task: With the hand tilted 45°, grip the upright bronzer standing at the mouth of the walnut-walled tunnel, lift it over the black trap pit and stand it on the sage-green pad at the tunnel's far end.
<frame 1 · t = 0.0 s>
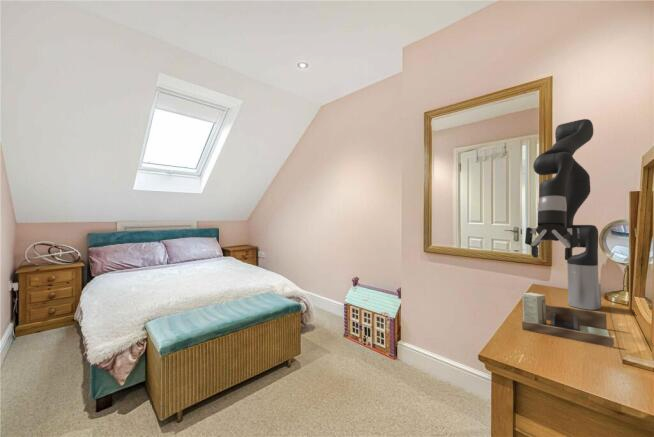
hand: (550, 258, 92), 22 cm above the table, tool pointing down, fingers open, 8 cm apart
skincare box: (534, 324, 94), on the table
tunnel: (564, 329, 89), on the table
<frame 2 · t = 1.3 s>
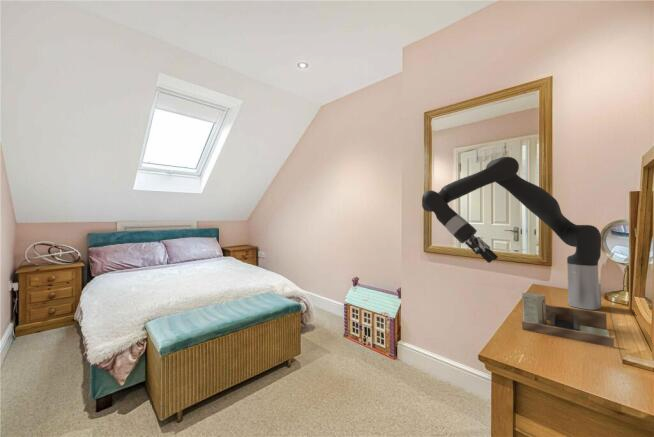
hand: (493, 260, 102), 21 cm above the table, tool tilted 45°, fingers open, 8 cm apart
nothing on the table moved.
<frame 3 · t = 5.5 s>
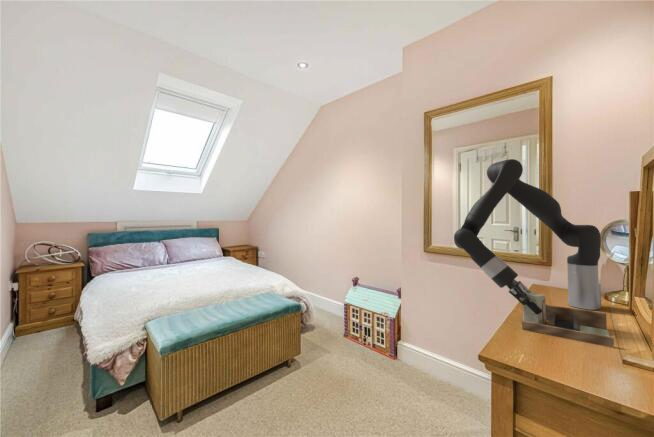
hand: (540, 310, 93), 5 cm above the table, tool tilted 45°, fingers closed on skincare box, 6 cm apart
skincare box: (534, 324, 94), on the table, touching gripper
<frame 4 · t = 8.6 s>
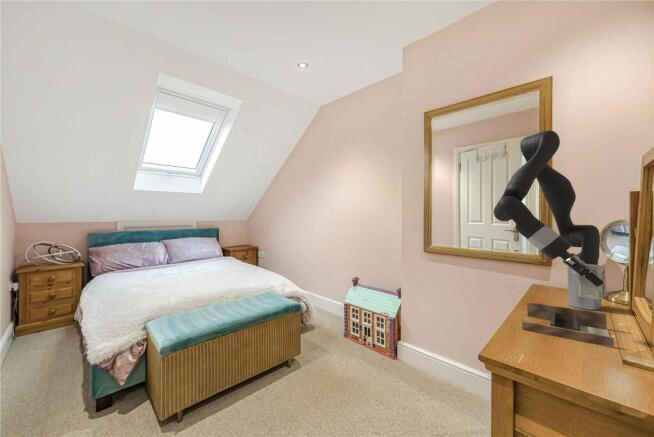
hand: (599, 282, 83), 16 cm above the table, tool tilted 45°, fingers closed on skincare box, 6 cm apart
skincare box: (592, 298, 84), point 11 cm above the table, touching gripper
when the fingers open (6 cm above the table, at t = 11.5 s): skincare box stays where it is, resting on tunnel.
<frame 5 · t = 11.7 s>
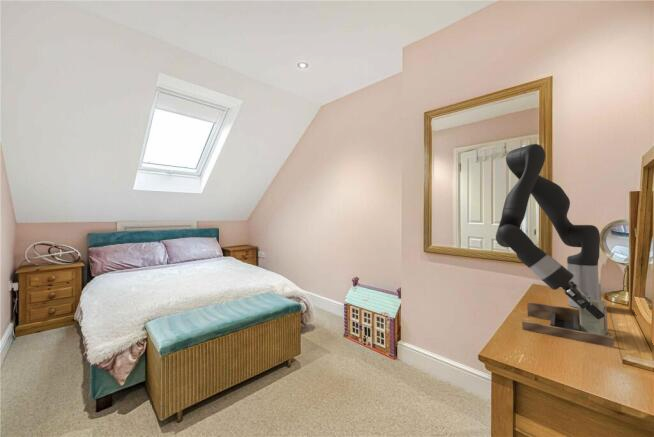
hand: (600, 314, 83), 7 cm above the table, tool tilted 45°, fingers open, 7 cm apart
skincare box: (593, 333, 84), resting on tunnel
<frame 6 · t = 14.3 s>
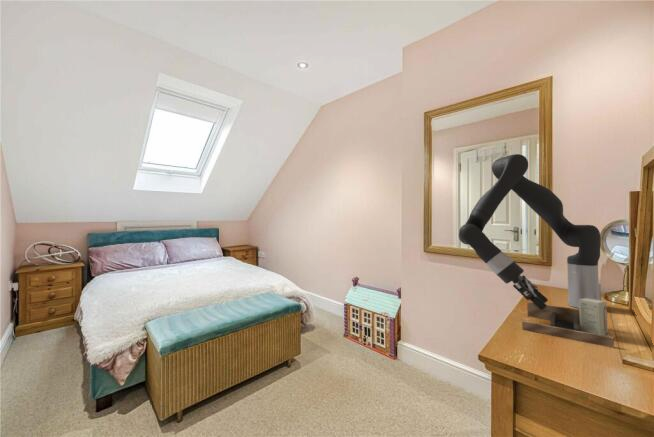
hand: (545, 305, 92), 7 cm above the table, tool tilted 45°, fingers open, 8 cm apart
nothing on the table moved.
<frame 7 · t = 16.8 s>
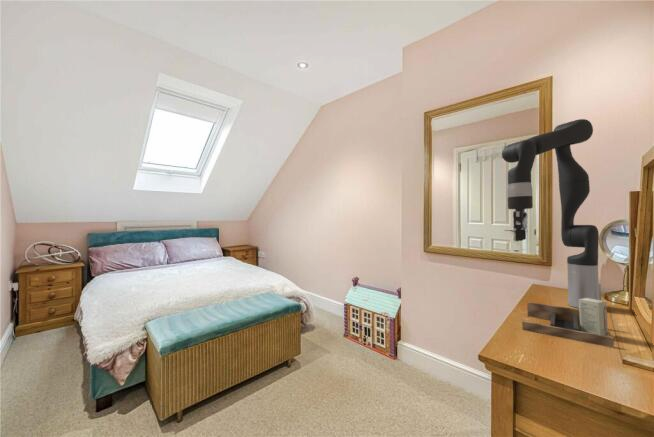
hand: (520, 240, 101), 28 cm above the table, tool pointing down, fingers open, 8 cm apart
nothing on the table moved.
at the end: skincare box 0.4 cm from the target spot on the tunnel, point 0.2 cm above the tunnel's base; skincare box tilted 0°; the gripper is holding nothing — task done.
